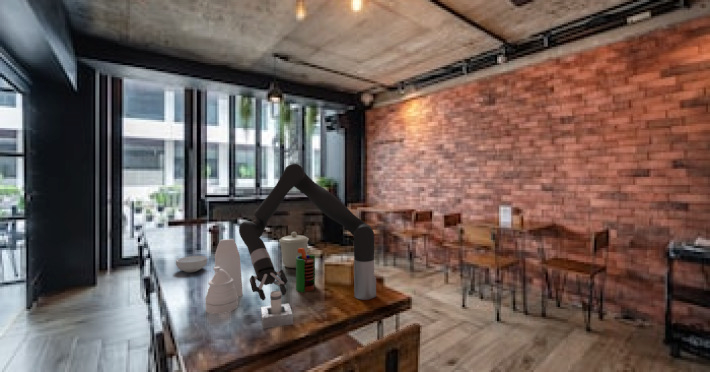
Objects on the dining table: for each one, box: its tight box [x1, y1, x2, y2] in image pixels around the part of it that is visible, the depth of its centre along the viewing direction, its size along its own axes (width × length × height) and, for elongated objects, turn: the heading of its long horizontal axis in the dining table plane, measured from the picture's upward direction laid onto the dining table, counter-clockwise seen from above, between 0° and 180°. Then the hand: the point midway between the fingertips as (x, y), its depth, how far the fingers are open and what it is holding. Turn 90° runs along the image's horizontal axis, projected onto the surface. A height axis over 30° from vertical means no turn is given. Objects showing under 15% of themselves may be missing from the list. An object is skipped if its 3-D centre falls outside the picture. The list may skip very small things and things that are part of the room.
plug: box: [269, 290, 282, 314], centre depth 135 cm, size 4×4×11 cm
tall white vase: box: [214, 238, 244, 297], centre depth 166 cm, size 12×12×26 cm
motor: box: [295, 248, 316, 293], centre depth 171 cm, size 10×9×20 cm
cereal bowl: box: [175, 255, 208, 273], centre depth 206 cm, size 17×17×7 cm
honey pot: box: [204, 266, 239, 315], centre depth 148 cm, size 13×13×18 cm
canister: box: [278, 231, 310, 269], centre depth 213 cm, size 18×18×21 cm
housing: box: [260, 303, 294, 329], centre depth 135 cm, size 11×11×4 cm
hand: (274, 296), depth 136 cm, fingers open, 8 cm apart
